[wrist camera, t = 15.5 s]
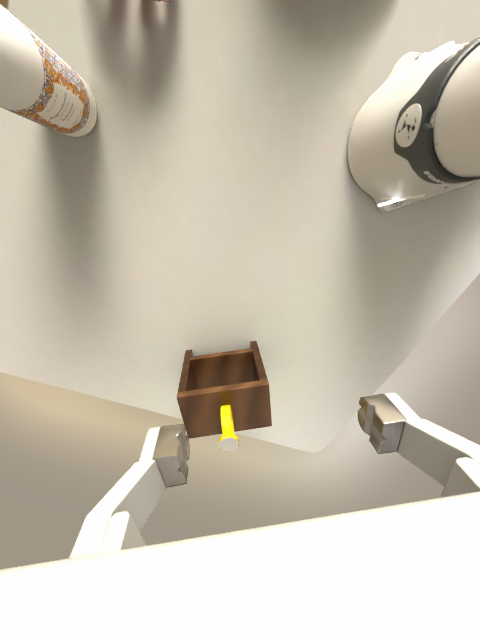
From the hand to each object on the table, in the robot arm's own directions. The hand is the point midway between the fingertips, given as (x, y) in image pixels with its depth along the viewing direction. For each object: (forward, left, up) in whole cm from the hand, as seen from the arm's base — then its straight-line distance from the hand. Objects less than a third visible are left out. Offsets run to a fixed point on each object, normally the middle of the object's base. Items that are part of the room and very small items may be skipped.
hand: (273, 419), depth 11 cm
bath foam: (+18, -22, -34) cm, 45 cm away
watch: (+4, +21, -21) cm, 30 cm away
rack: (+4, +21, -34) cm, 40 cm away
